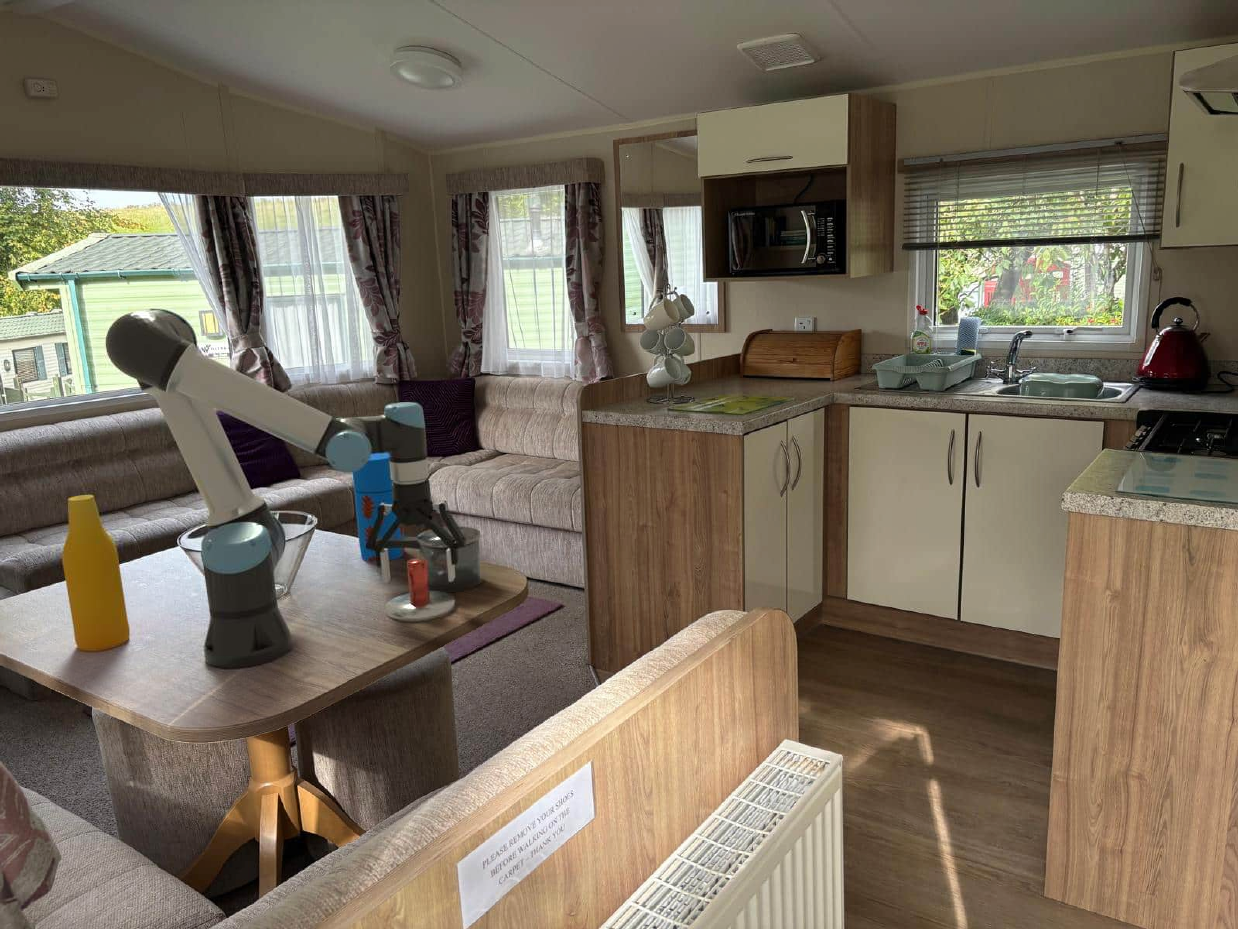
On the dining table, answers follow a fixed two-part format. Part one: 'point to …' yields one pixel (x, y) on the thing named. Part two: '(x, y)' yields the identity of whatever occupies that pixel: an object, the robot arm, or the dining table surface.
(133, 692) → the dining table surface
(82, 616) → the beer bottle
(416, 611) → the lid
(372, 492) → the thermos
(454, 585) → the pot
